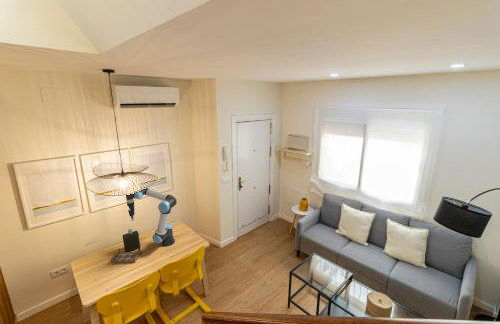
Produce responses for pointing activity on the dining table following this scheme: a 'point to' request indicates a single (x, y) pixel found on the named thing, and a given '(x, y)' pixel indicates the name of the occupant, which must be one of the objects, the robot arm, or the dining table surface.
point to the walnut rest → (125, 257)
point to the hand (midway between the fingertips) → (133, 220)
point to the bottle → (131, 241)
